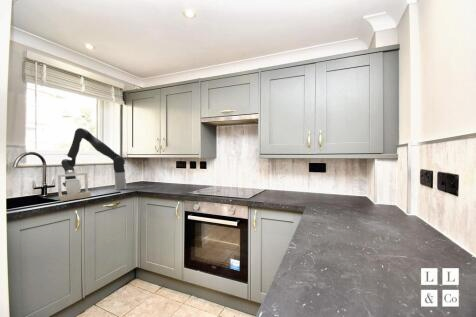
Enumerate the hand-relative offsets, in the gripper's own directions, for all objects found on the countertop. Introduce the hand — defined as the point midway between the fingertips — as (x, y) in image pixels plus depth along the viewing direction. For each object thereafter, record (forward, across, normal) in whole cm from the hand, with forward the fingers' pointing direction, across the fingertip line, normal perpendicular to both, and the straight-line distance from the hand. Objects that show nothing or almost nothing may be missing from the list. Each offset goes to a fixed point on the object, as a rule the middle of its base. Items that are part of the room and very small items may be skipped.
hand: (72, 190), depth 187 cm
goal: (+12, 0, -6) cm, 13 cm away
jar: (+7, 0, -1) cm, 7 cm away
